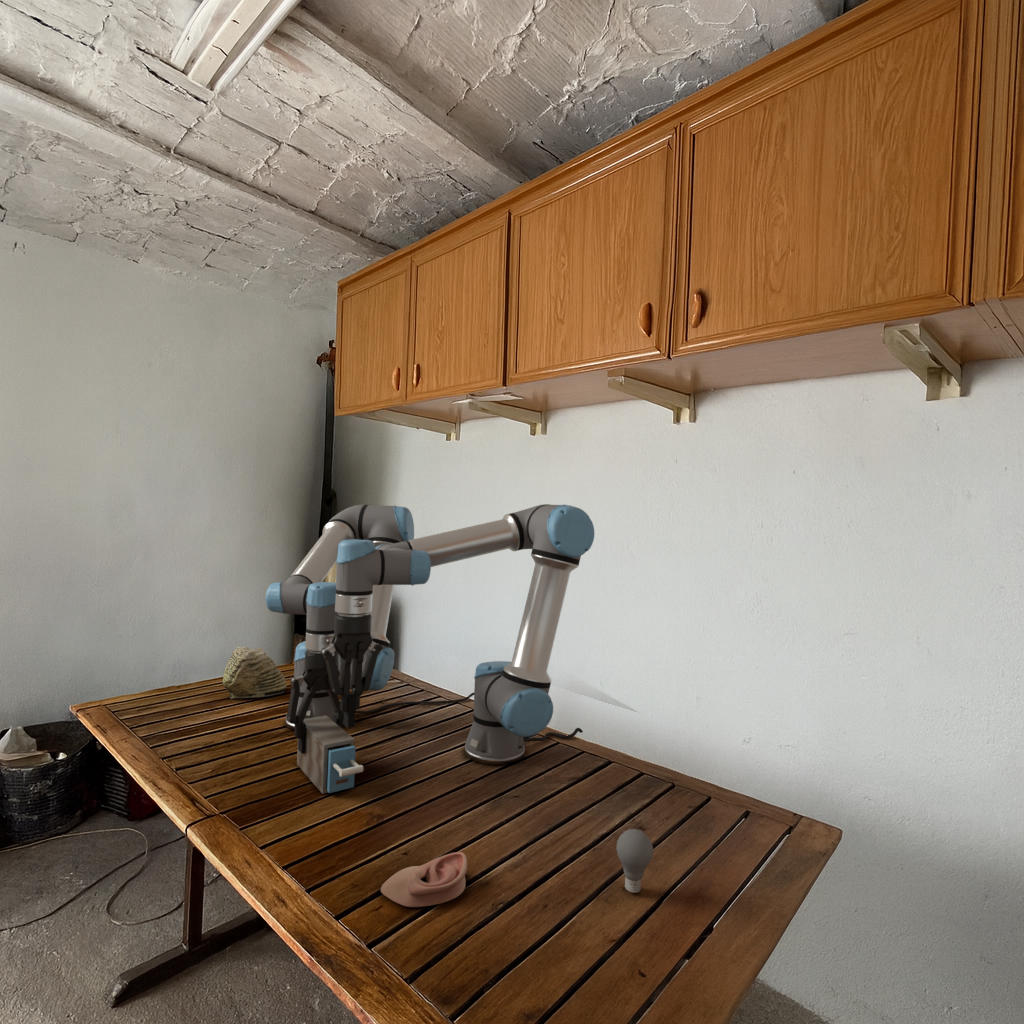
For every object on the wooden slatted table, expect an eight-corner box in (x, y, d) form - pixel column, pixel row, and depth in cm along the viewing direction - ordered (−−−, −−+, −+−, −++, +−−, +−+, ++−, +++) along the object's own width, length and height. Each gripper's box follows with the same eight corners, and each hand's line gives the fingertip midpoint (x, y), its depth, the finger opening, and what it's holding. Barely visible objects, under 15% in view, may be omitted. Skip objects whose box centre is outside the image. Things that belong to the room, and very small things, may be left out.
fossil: (218, 695, 195) (220, 647, 195) (278, 685, 208) (279, 640, 207) (228, 703, 189) (230, 653, 188) (289, 692, 201) (290, 645, 201)
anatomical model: (373, 876, 100) (400, 838, 111) (372, 901, 100) (399, 861, 111) (454, 890, 97) (473, 850, 108) (452, 915, 97) (472, 873, 108)
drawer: (364, 797, 133) (365, 756, 132) (338, 803, 129) (340, 761, 129) (327, 760, 150) (328, 723, 150) (304, 765, 147) (305, 727, 146)
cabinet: (352, 786, 139) (354, 739, 139) (322, 794, 135) (324, 745, 135) (324, 758, 153) (326, 715, 153) (296, 764, 149) (298, 720, 149)
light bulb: (610, 879, 108) (613, 822, 108) (644, 879, 109) (647, 822, 109) (619, 902, 102) (622, 840, 102) (655, 901, 103) (658, 840, 103)
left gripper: (282, 658, 138) (278, 762, 138) (369, 648, 150) (365, 744, 150) (273, 650, 144) (269, 750, 144) (357, 642, 156) (353, 734, 156)
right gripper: (329, 619, 125) (324, 737, 126) (389, 614, 133) (385, 725, 134) (316, 612, 131) (312, 725, 132) (375, 608, 139) (370, 715, 140)
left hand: (318, 747), depth 147 cm, fingers open, 7 cm apart
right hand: (349, 725), depth 133 cm, fingers closed
